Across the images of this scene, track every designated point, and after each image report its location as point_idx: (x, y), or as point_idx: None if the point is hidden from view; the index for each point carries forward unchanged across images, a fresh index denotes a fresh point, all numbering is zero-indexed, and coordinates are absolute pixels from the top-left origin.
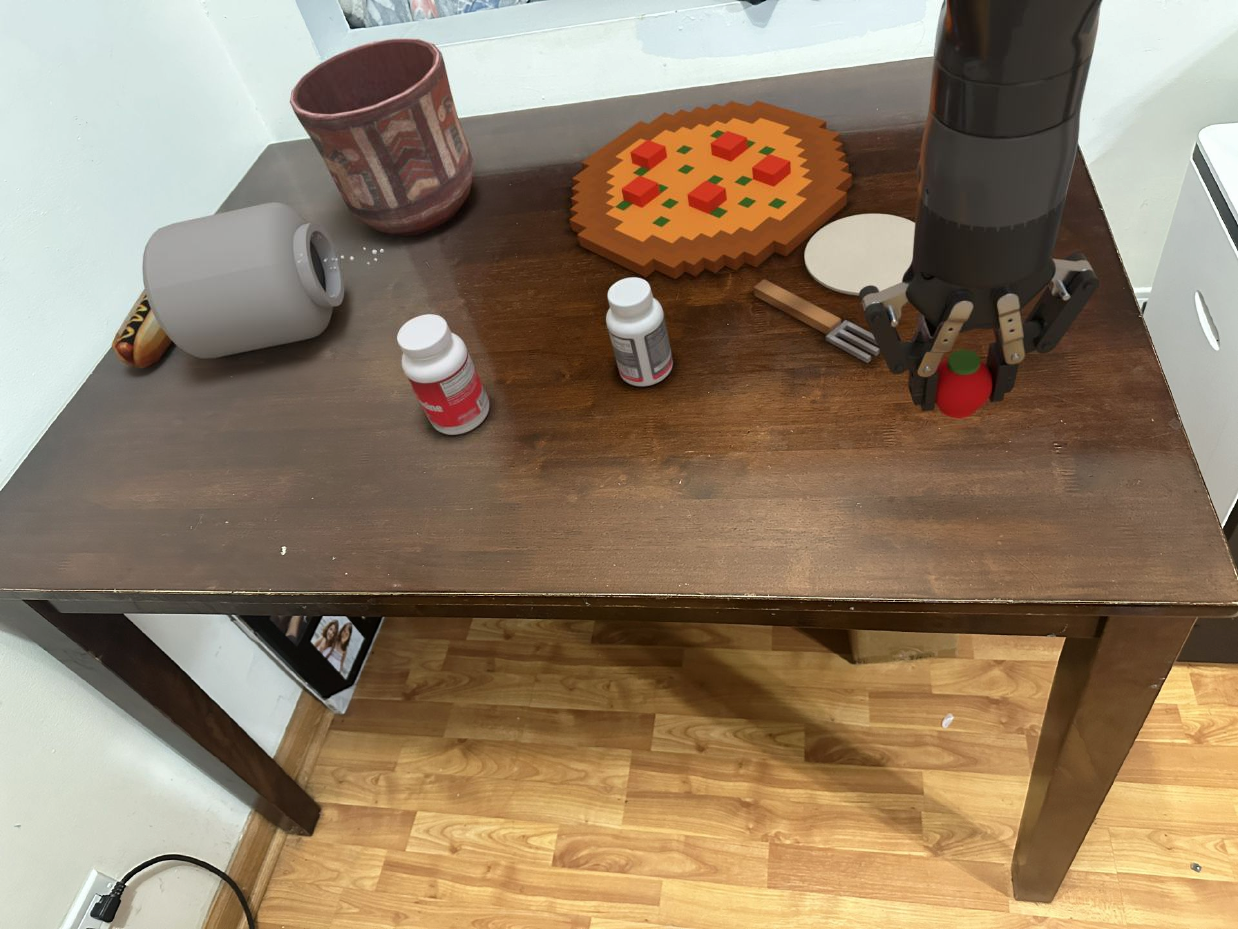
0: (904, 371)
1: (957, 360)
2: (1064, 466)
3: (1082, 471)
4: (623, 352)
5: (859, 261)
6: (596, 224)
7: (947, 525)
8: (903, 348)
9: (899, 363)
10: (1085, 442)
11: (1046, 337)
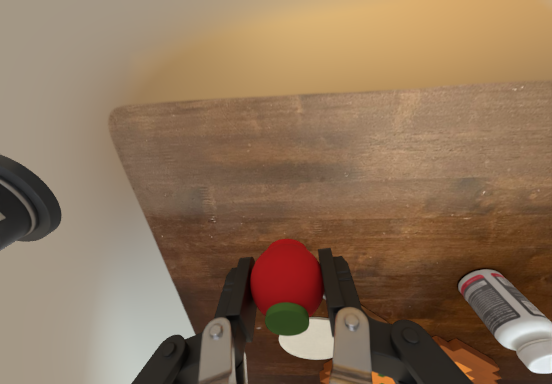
0: (393, 324)
1: (296, 324)
2: (208, 205)
3: (198, 202)
4: (527, 301)
5: (321, 336)
6: (483, 373)
7: (284, 158)
8: (399, 370)
9: (416, 348)
10: (197, 222)
11: (163, 373)
